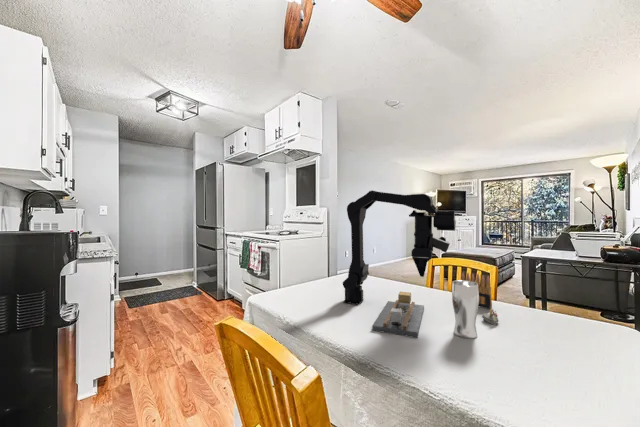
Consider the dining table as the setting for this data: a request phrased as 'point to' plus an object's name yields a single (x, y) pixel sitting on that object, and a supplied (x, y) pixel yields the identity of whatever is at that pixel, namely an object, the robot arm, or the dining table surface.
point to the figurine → (490, 316)
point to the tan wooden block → (404, 297)
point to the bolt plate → (409, 319)
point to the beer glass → (465, 308)
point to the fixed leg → (396, 315)
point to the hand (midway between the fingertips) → (422, 273)
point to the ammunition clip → (486, 290)
